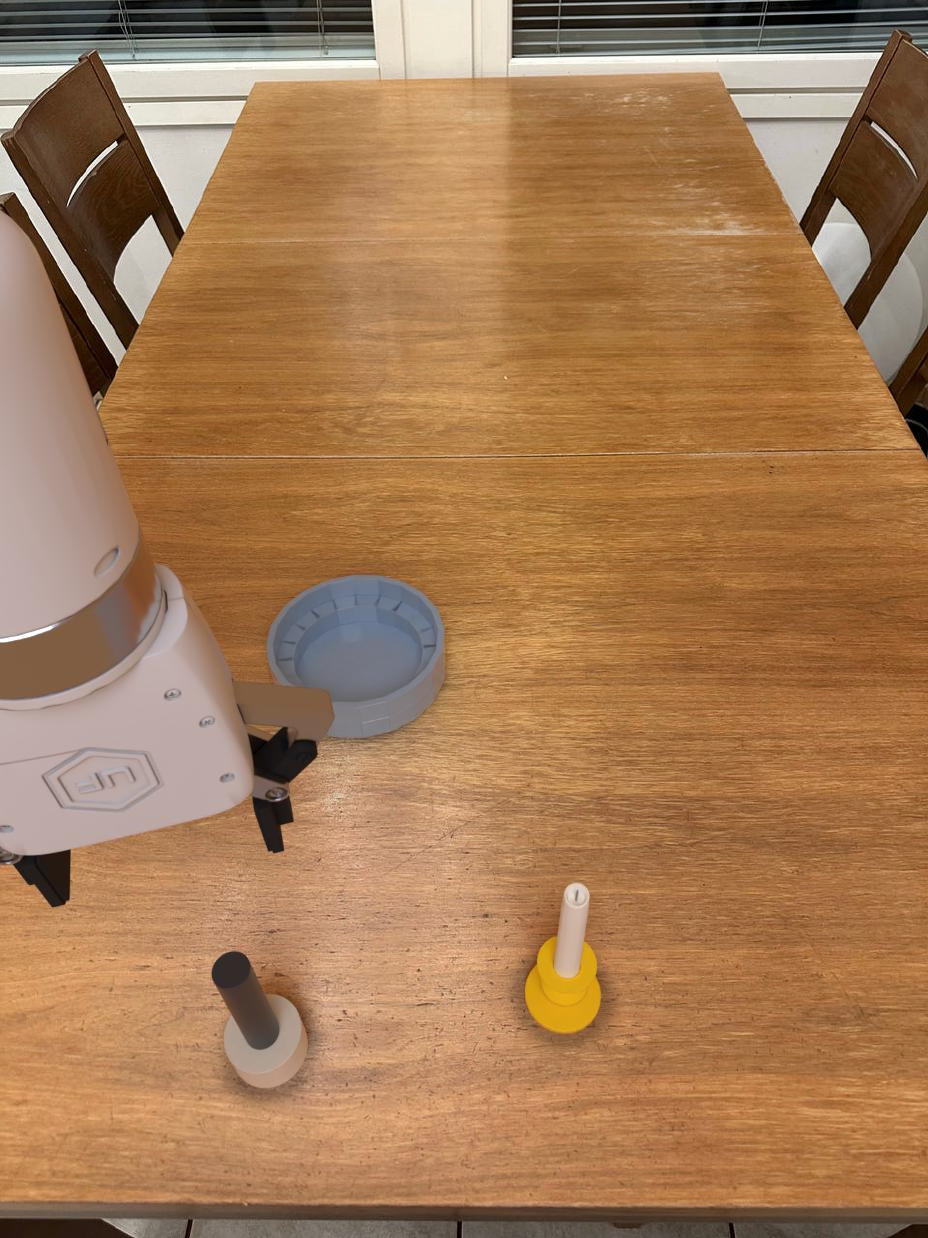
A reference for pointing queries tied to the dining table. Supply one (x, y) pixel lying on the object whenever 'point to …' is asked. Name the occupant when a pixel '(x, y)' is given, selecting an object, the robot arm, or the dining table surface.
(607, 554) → the dining table surface
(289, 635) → the bowl
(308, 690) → the robot arm
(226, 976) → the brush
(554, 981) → the candle
